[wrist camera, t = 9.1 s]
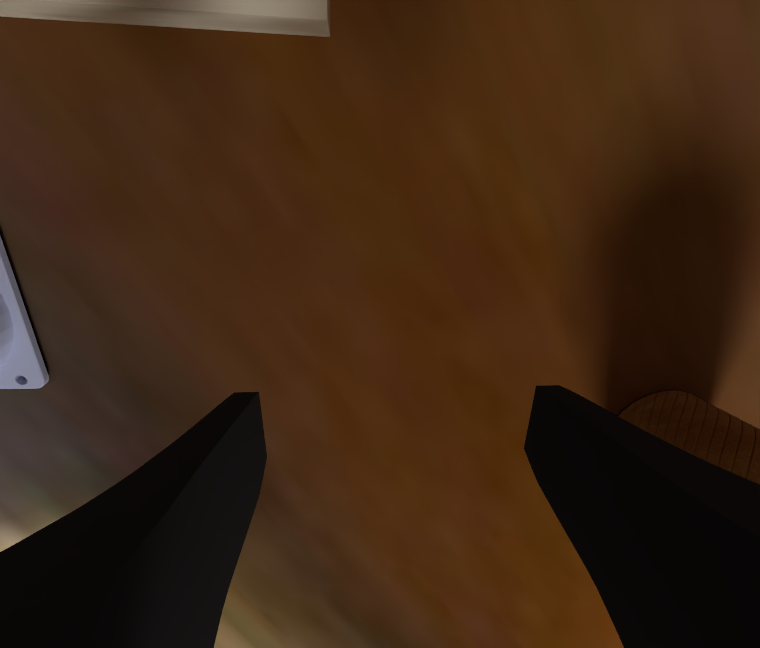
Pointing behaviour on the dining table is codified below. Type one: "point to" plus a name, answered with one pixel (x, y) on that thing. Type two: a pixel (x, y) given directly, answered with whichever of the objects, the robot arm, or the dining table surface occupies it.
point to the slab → (186, 13)
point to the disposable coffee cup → (699, 430)
